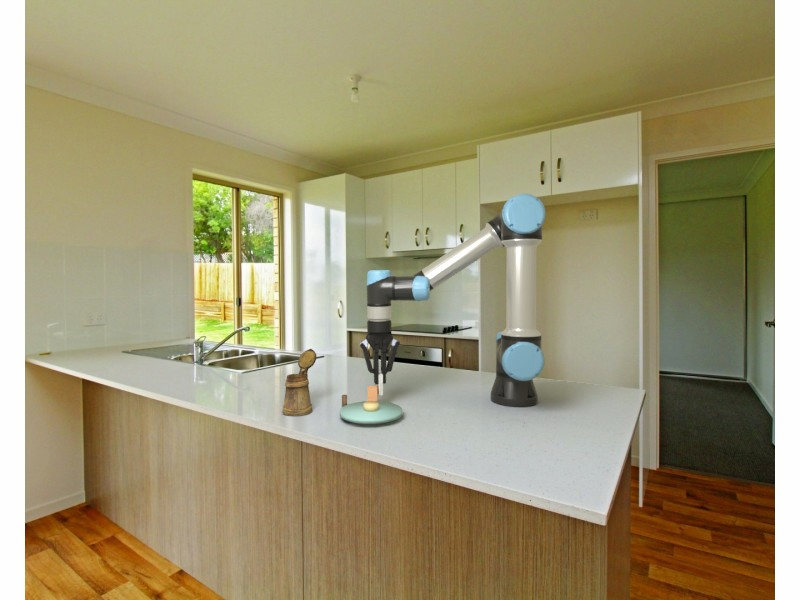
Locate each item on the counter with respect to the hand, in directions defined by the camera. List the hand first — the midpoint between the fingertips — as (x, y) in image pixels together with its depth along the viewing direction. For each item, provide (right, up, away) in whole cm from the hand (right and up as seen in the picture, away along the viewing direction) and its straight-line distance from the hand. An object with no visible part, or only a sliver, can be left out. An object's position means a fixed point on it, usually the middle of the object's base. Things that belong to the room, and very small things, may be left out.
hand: (380, 394), depth 137 cm
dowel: (-11, -4, -5) cm, 12 cm away
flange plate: (-2, -3, -10) cm, 10 cm away
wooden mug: (-24, -4, -3) cm, 25 cm away
